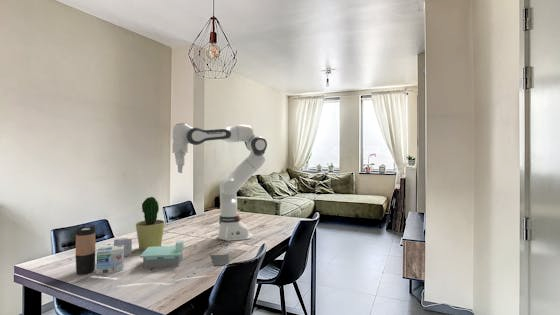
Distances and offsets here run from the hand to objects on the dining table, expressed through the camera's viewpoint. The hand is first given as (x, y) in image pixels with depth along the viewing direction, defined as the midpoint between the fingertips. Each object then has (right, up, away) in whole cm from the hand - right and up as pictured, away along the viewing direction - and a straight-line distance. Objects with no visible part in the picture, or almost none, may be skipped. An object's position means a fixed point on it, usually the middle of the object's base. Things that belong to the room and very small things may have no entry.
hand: (180, 172), depth 184 cm
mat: (+25, -43, -30) cm, 59 cm away
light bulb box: (-17, -44, -45) cm, 65 cm away
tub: (+4, -43, -36) cm, 56 cm away
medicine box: (-22, -43, -24) cm, 54 cm away
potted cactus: (-13, -43, -11) cm, 46 cm away
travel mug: (-28, -43, -46) cm, 69 cm away
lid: (+4, -38, -36) cm, 53 cm away
